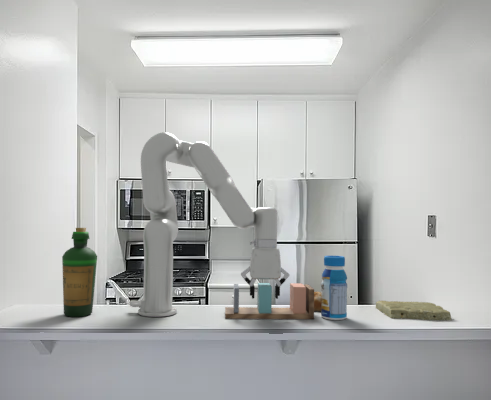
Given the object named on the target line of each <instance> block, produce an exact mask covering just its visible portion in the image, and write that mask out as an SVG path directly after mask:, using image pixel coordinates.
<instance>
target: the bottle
mask: <svg viewBox="0 0 491 400" xmlns="http://www.w3.org/2000/svg"><path fill="white" fill-rule="evenodd" d="M71 240H72V243H73V247H70V248H69V249H67V250H66V251H65V252H64V253H63V255H62V256H61V257H62V261H61V262H62V290H63V291H62V294H63V295H62V297H63V299H62V302H63V314H64V316H65V317H68V318H80V317H81V318H82V317H86V316H89V315H91V314H92V313H93V309H94V308H93V306H94V296H95V284H96V275H97V264H98V263H97V261H98V255H97V253H96V252H95V250H93V249H91V248H90V247H88V241H89V240H90V233H89V231H87V227H75V231H72V234H71Z"/></svg>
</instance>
